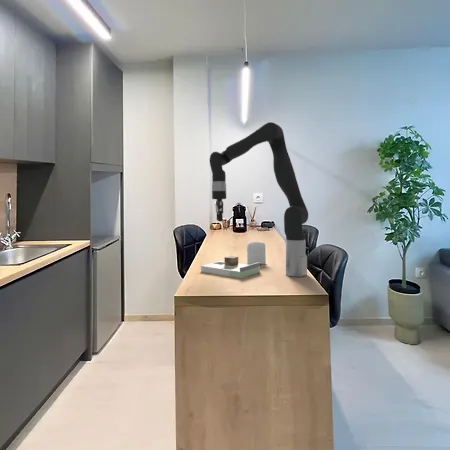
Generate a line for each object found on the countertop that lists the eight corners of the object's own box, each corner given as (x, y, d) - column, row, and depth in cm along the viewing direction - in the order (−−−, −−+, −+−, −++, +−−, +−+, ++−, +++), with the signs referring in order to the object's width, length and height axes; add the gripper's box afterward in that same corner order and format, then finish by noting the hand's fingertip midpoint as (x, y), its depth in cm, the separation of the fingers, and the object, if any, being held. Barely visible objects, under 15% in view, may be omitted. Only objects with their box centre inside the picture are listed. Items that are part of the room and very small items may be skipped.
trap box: (259, 272, 188) (259, 262, 188) (241, 278, 176) (241, 267, 175) (220, 266, 203) (220, 257, 203) (201, 271, 191) (200, 261, 190)
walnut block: (238, 264, 193) (238, 256, 193) (232, 266, 189) (232, 258, 189) (230, 263, 196) (230, 255, 196) (224, 265, 192) (224, 257, 192)
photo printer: (247, 264, 207) (247, 242, 206) (246, 263, 211) (246, 241, 210) (266, 264, 208) (266, 242, 207) (264, 262, 212) (264, 241, 211)
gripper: (227, 190, 193) (228, 221, 194) (224, 190, 207) (225, 219, 208) (213, 190, 192) (213, 221, 193) (211, 190, 206) (211, 219, 208)
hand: (219, 220), depth 201 cm, fingers open, 8 cm apart
